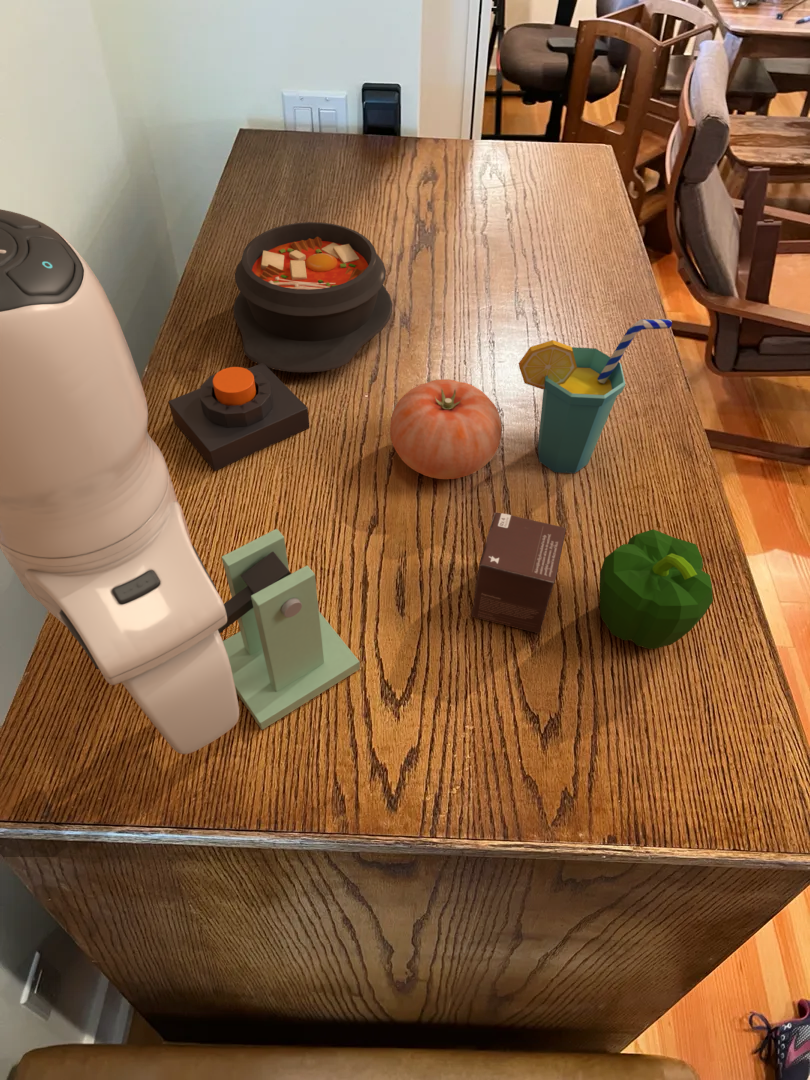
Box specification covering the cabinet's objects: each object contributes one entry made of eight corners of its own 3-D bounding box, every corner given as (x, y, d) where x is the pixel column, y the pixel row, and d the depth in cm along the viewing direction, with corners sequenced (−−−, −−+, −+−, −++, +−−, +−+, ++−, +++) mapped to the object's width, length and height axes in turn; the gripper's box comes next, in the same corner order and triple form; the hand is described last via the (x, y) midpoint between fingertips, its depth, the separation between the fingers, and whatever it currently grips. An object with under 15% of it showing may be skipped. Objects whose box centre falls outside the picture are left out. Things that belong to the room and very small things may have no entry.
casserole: (377, 394, 83) (377, 328, 77) (209, 378, 84) (195, 311, 78) (403, 269, 99) (405, 206, 93) (262, 257, 100) (253, 194, 94)
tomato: (418, 511, 72) (421, 449, 66) (372, 439, 79) (371, 376, 72) (517, 477, 76) (529, 415, 69) (465, 411, 82) (472, 348, 76)
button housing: (214, 471, 75) (206, 437, 72) (173, 421, 80) (163, 386, 76) (309, 427, 79) (306, 393, 76) (265, 382, 84) (260, 348, 80)
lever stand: (261, 730, 58) (237, 639, 48) (211, 656, 62) (179, 557, 52) (360, 669, 61) (356, 572, 52) (306, 602, 65) (293, 501, 56)
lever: (168, 710, 51) (151, 699, 49) (137, 658, 54) (119, 645, 52) (311, 599, 53) (300, 584, 51) (274, 554, 56) (262, 537, 54)
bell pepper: (577, 584, 67) (603, 508, 60) (669, 580, 68) (706, 504, 60) (600, 668, 62) (631, 596, 54) (699, 662, 63) (743, 591, 55)
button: (227, 411, 75) (224, 397, 73) (208, 390, 77) (205, 376, 75) (263, 396, 76) (261, 382, 75) (243, 375, 78) (241, 361, 77)
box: (539, 636, 64) (554, 584, 58) (469, 618, 65) (477, 564, 59) (552, 580, 68) (567, 526, 62) (485, 564, 69) (495, 509, 63)
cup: (611, 415, 82) (650, 290, 70) (650, 464, 77) (697, 339, 66) (492, 443, 79) (511, 317, 67) (524, 495, 74) (551, 370, 62)
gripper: (-29, 440, 44) (51, 582, 55) (116, 698, 34) (180, 812, 45) (77, 398, 47) (134, 542, 57) (242, 628, 36) (274, 751, 47)
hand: (155, 662), depth 51 cm, fingers closed, pressing on lever
